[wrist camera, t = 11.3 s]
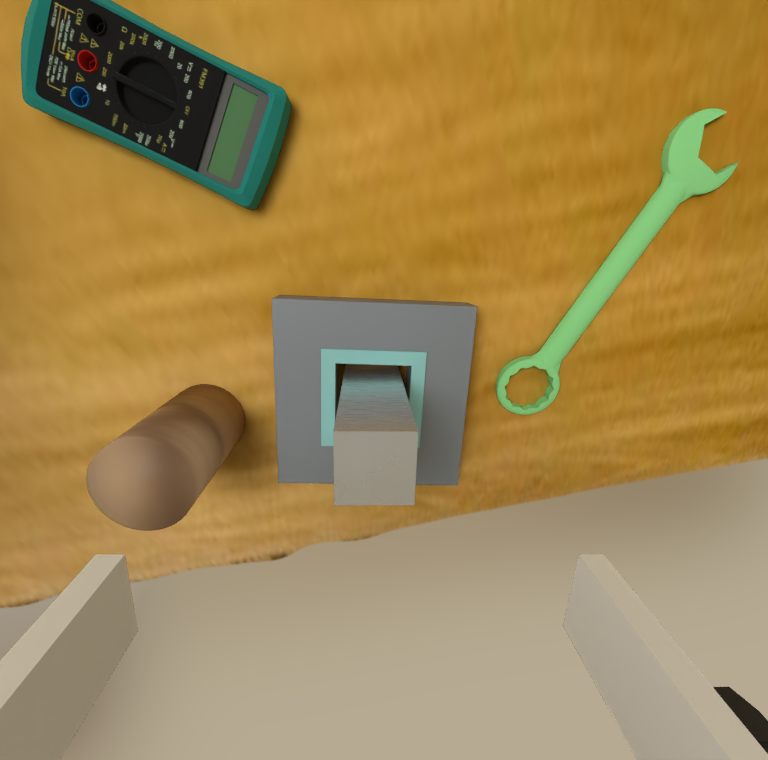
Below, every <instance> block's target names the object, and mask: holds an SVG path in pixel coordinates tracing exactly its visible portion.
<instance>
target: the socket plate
mask: <svg viewBox="0 0 768 760" xmlns="http://www.w3.org/2000/svg"><path fill="white" fill-rule="evenodd" d="M476 315H477V306H474V305H472V304H469V303H462V302H437V301H413V300H389V299H365V298H341V297H317V296H292V295H279V296H277V297H274V298H272V318H273V346H274V374H275V402H276V430H277V458H278V483H324V484H334V450H333V430H334V425H335V419H336V414H337V409H338V363H340V364H371V365H403V366H407V371H406V387H405V391H406V394H407V397H408V400H409V403H410V407H411V410H412V413H413V416H414V419H415V423H416V426H417V429H418V447H417V466H416V484H415V485H458V477H459V468H460V459H461V450H462V441H463V432H464V423H465V414H466V405H467V396H468V387H469V378H470V369H471V360H472V351H473V342H474V333H475V324H476Z"/></svg>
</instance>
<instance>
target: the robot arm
mask: <svg viewBox="0 0 768 760" xmlns="http://www.w3.org/2000/svg"><path fill="white" fill-rule="evenodd" d="M563 627H564V628H565V630H566V632H567V634H568V636H569V638H570V639H571V641H572V643H573V645H574V647H575V649H576V650H577V652H578V654H579V656H580V658H581V659H582V661H583V663H584V665H585V667H586V669H587V670H588V672H589V674H590V676H591V678H592V679H593V681H594V683H595V685H596V687H597V689H598V690H599V692H600V694H601V696H602V697H603V699H604V701H605V703H606V705H607V707H608V708H609V710H610V712H611V714H612V716H613V718H614V719H615V721H616V723H617V725H618V727H619V728H620V730H621V732H622V734H623V736H624V737H625V739H626V741H627V743H628V745H629V747H630V748H631V750H632V752H633V754H634V756H635V758H636V759H637V760H768V721H767V720H766V718H765V717H764V716H763V715H762V714H761V713H760V712H759V711H758V710H757V709H756V708H754V707H753V706H752V705H751V704H750V703H748V702H747V701H746V700H745V699H743V698H742V697H741V696H740V695H738V694H737V693H736V692H735V691H733V690H732V689H731V688H730V687H712V686H711V685H710V683H709V682H708V681H707V679H706V678H705V677H704V676H703V675H702V673H700V671H699V670H698V669H697V667H696V666H695V665H694V664H693V662H692V661H691V660H690V659H689V658H688V656H687V655H686V654H685V653H684V652H683V650H682V649H681V648H680V647H679V645H678V644H677V643H676V642H675V641H674V639H673V638H672V637H671V636H670V635H669V633H668V632H667V631H666V630H665V628H664V627H663V626H662V625H661V624H660V622H659V621H658V620H657V619H656V617H655V616H654V615H653V614H652V613H651V611H650V610H649V609H648V608H647V606H646V605H645V604H644V603H643V602H642V600H641V599H640V598H639V597H638V596H637V594H636V593H635V592H634V591H633V589H632V588H631V587H630V586H629V585H628V583H627V582H626V581H625V580H624V579H623V577H622V576H621V575H620V574H619V572H618V571H617V570H616V569H615V568H614V566H613V565H612V564H611V563H610V561H609V560H608V559H607V558H606V557H605V555H604V554H579V556H578V561H577V565H576V569H575V574H574V579H573V583H572V587H571V592H570V596H569V600H568V605H567V609H566V614H565V618H564V622H563ZM137 631H138V628H137V622H136V617H135V611H134V605H133V599H132V593H131V588H130V582H129V576H128V570H127V564H126V559H125V554H96V555H95V556H94V557H93V558H92V559H91V560H90V562H89V563H88V564H87V565H86V566H85V567H84V568H83V569H82V570H81V572H80V573H79V574H78V575H77V576H76V577H75V578H74V579H73V580H72V582H71V583H70V584H69V585H68V586H67V587H66V588H65V589H64V590H63V592H62V593H61V594H60V595H59V596H58V597H57V598H56V599H55V600H54V602H53V603H52V604H51V605H50V606H49V607H48V608H47V609H46V610H45V612H44V613H43V614H42V615H41V616H40V617H39V618H38V619H37V620H36V622H35V623H34V624H33V625H32V626H31V627H30V628H29V630H27V631H26V633H25V634H24V635H23V636H22V637H21V638H20V639H19V640H18V641H17V643H16V644H15V645H14V646H13V647H12V648H11V649H10V650H9V651H8V653H7V654H6V655H5V656H4V657H3V658H2V659H1V660H0V760H60V759H61V758H62V756H63V754H64V752H65V751H66V749H67V748H68V746H69V744H70V742H71V741H72V739H73V738H74V736H75V734H76V733H77V731H78V729H79V728H80V726H81V724H82V723H83V721H84V719H85V718H86V716H87V714H88V713H89V711H90V709H91V708H92V706H93V704H94V703H95V701H96V699H97V698H98V696H99V694H100V693H101V691H102V689H103V688H104V686H105V685H106V683H107V681H108V680H109V678H110V676H111V674H112V673H113V671H114V670H115V668H116V666H117V665H118V663H119V661H120V660H121V658H122V656H123V655H124V653H125V651H126V650H127V648H128V646H129V645H130V643H131V641H132V640H133V638H134V636H135V635H136V633H137Z"/></svg>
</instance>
